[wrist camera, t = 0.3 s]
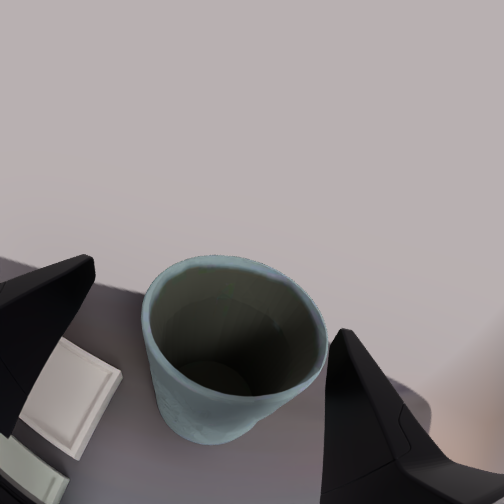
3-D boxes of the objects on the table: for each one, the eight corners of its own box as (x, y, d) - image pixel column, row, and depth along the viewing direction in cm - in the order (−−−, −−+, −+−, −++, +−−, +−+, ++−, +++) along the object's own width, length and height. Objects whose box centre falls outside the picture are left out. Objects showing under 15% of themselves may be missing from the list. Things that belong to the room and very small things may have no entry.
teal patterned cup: (125, 398, 19) (101, 309, 12) (198, 332, 27) (220, 232, 20) (225, 475, 16) (279, 447, 9) (284, 390, 24) (349, 309, 17)
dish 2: (78, 461, 13) (73, 458, 12) (1, 399, 13) (-6, 393, 12) (122, 377, 20) (120, 370, 19) (48, 332, 20) (44, 324, 20)
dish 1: (39, 552, 4) (32, 553, 3) (-40, 480, 4) (-49, 476, 3) (70, 479, 11) (64, 477, 10) (-8, 415, 11) (-16, 409, 11)
